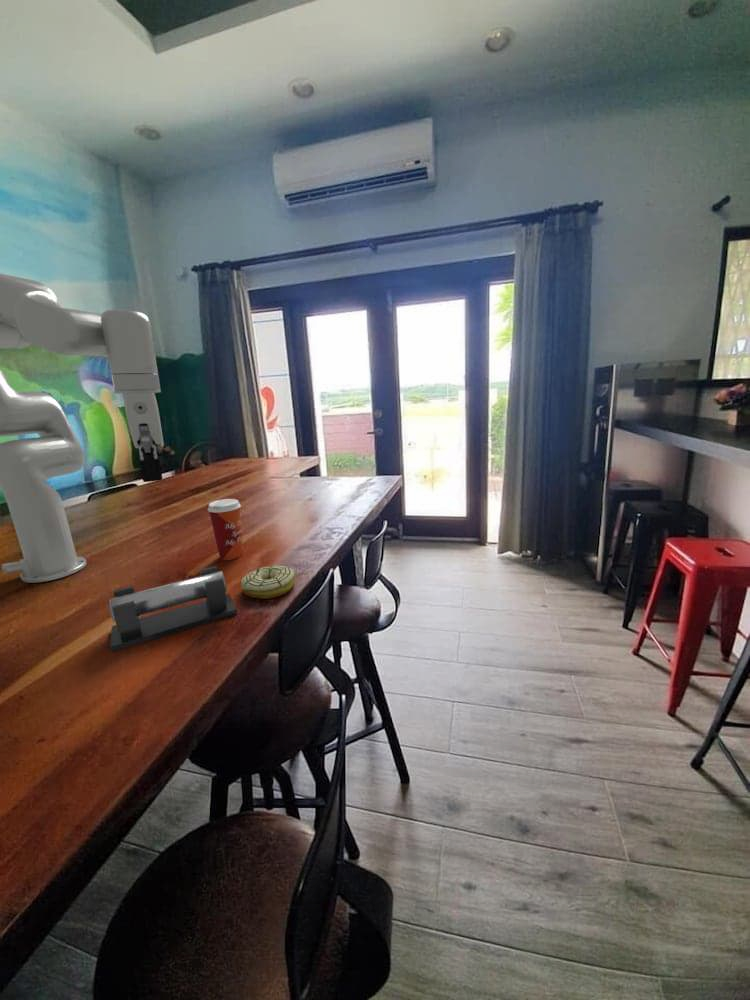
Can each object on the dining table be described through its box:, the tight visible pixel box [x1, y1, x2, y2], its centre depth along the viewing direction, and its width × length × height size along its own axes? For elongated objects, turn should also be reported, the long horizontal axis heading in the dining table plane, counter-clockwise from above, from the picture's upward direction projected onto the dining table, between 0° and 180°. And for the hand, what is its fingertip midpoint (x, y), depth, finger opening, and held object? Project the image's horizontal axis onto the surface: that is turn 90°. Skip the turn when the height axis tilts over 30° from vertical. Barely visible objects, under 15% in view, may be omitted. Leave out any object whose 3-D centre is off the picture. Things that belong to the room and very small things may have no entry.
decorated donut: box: [240, 564, 296, 600], centre depth 84 cm, size 10×11×4 cm
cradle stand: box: [109, 565, 238, 653], centre depth 73 cm, size 20×7×8 cm, turn 120°
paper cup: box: [207, 498, 244, 561], centre depth 101 cm, size 8×8×14 cm
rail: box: [108, 570, 227, 623], centre depth 72 cm, size 18×4×4 cm, turn 120°
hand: (152, 475), depth 79 cm, fingers open, 9 cm apart
